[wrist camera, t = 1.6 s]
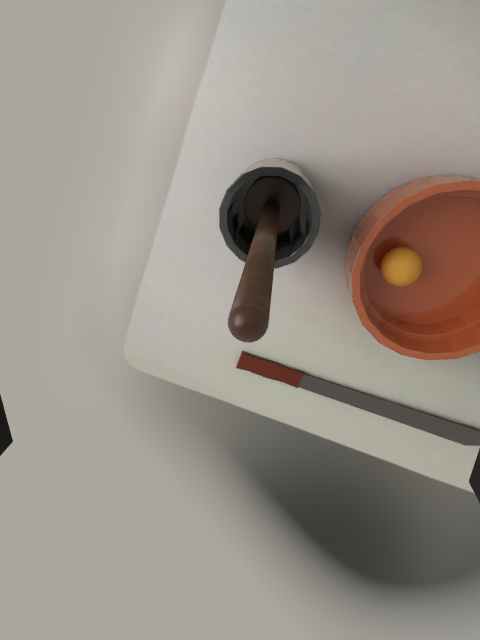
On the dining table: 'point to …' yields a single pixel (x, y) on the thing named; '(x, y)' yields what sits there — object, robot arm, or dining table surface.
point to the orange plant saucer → (437, 268)
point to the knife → (361, 400)
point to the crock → (288, 242)
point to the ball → (401, 266)
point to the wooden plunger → (262, 253)
